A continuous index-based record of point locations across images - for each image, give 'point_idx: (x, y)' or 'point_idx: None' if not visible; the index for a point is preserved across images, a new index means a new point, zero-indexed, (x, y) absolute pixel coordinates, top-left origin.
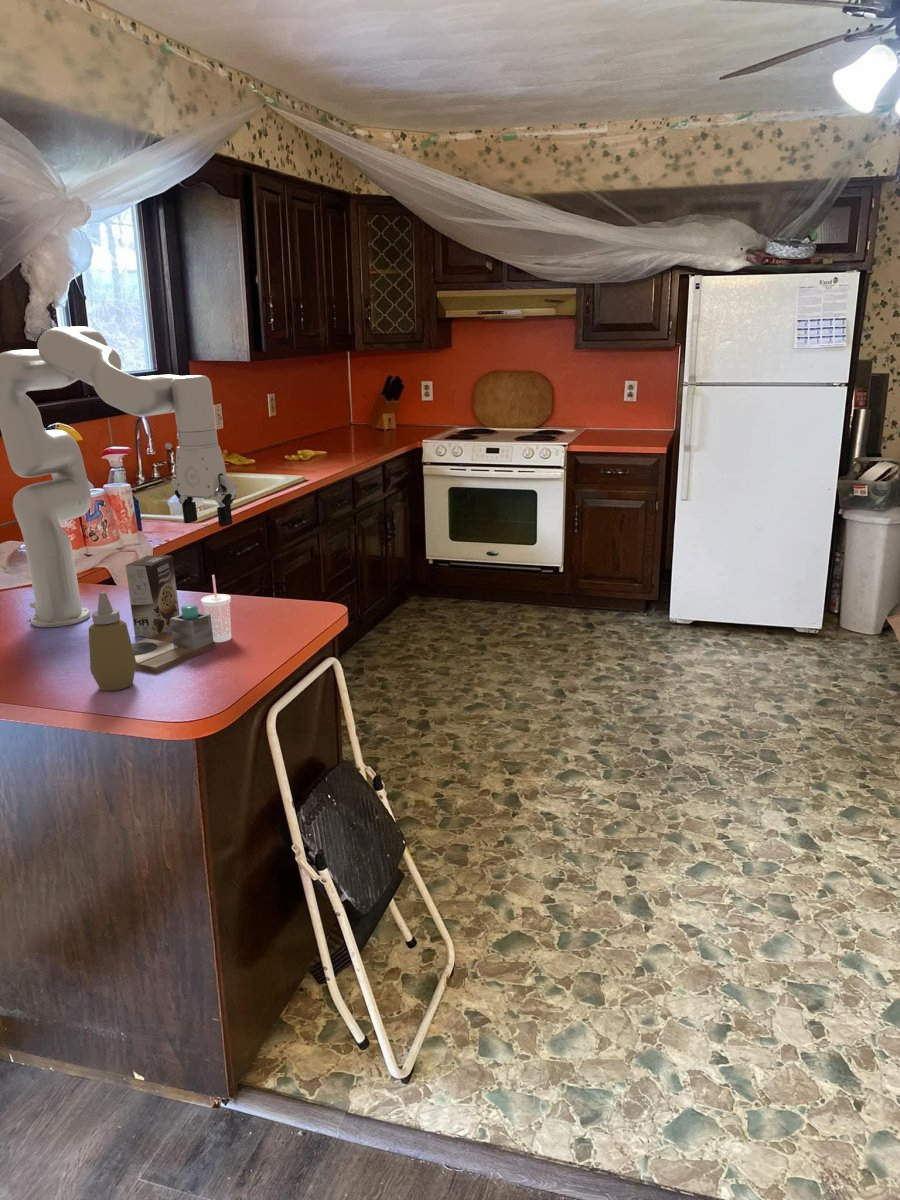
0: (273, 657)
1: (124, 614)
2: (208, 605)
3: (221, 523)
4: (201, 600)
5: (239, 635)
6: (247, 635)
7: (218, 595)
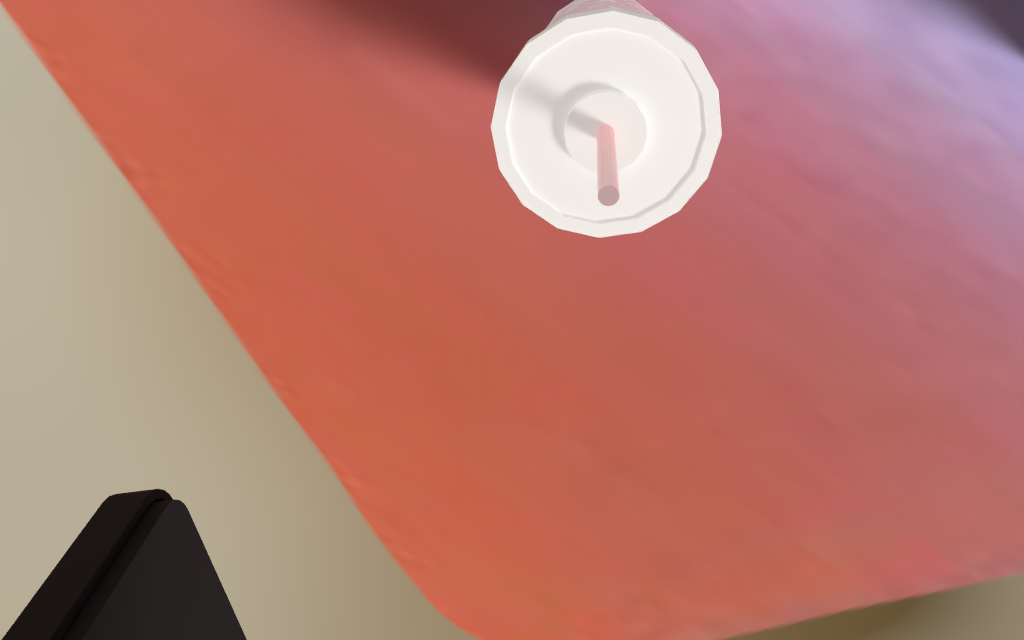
0: (99, 42)
1: None
2: (562, 18)
3: (95, 536)
4: (659, 25)
5: None
6: None
7: (664, 196)
